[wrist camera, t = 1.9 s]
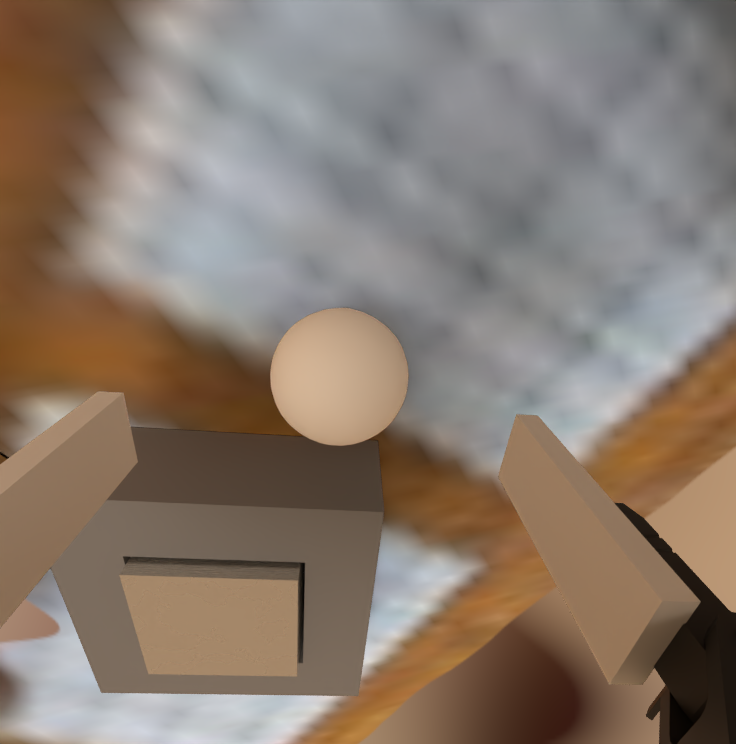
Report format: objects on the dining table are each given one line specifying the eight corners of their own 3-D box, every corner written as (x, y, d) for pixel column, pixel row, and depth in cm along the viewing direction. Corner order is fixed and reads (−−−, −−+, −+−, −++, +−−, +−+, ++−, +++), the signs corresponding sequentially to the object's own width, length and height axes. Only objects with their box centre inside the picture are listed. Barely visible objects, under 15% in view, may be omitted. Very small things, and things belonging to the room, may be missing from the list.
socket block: (378, 440, 28) (384, 512, 21) (358, 608, 36) (358, 695, 30) (101, 425, 27) (21, 496, 20) (147, 603, 35) (101, 692, 29)
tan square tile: (304, 539, 25) (297, 580, 22) (302, 632, 29) (297, 676, 27) (145, 532, 24) (119, 574, 22) (168, 629, 29) (148, 674, 26)
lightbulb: (293, 359, 25) (251, 467, 15) (302, 267, 22) (257, 322, 12) (383, 372, 25) (400, 483, 15) (401, 283, 23) (435, 348, 13)
